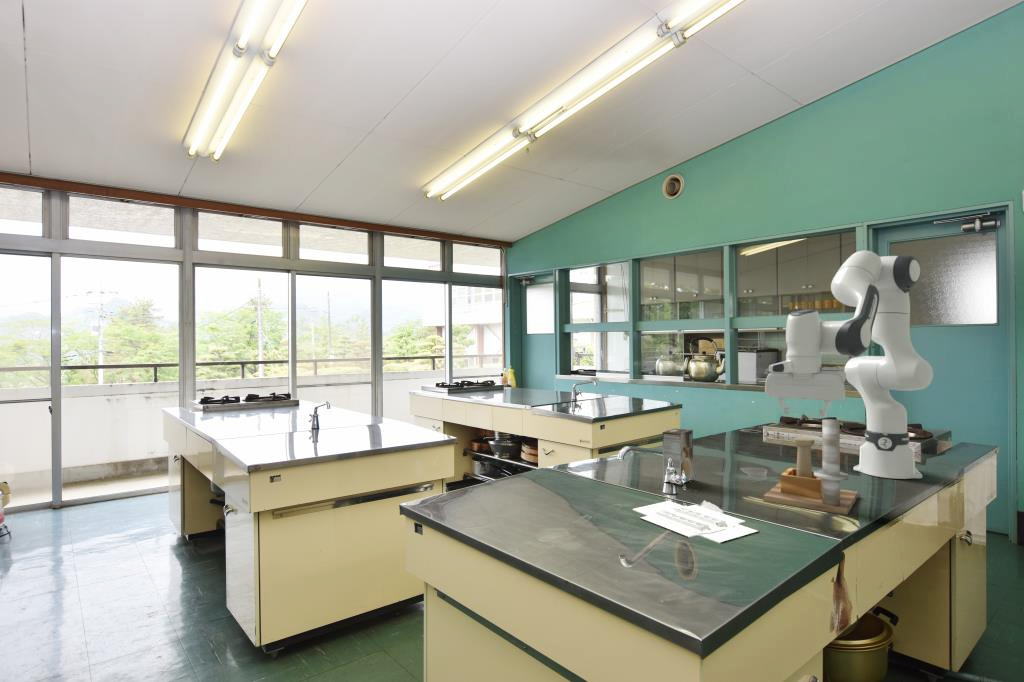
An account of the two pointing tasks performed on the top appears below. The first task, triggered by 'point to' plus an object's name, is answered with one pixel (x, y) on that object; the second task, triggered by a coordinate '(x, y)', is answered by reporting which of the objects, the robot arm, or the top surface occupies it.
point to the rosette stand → (817, 480)
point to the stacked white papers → (695, 520)
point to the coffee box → (678, 451)
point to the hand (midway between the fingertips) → (804, 414)
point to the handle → (804, 456)
